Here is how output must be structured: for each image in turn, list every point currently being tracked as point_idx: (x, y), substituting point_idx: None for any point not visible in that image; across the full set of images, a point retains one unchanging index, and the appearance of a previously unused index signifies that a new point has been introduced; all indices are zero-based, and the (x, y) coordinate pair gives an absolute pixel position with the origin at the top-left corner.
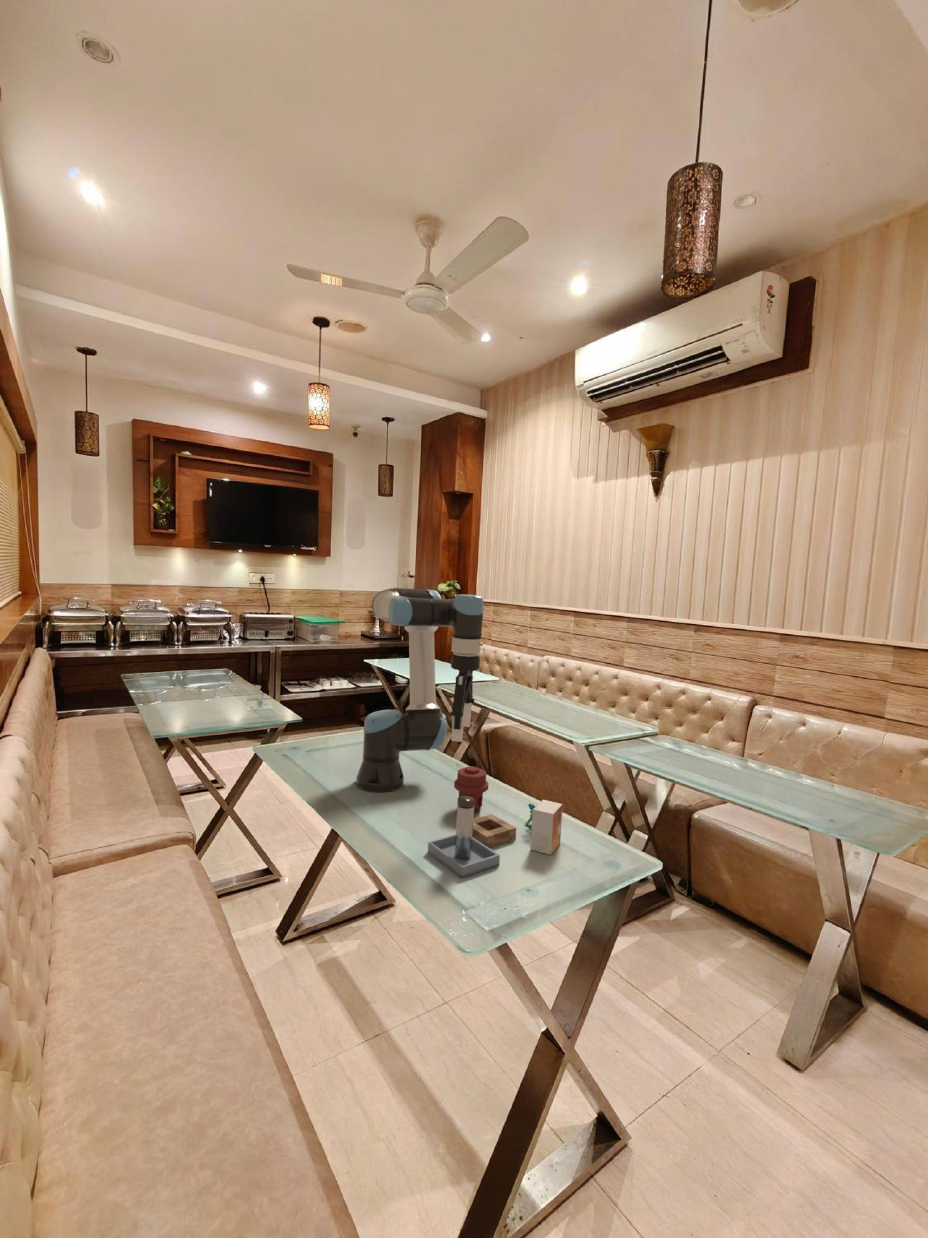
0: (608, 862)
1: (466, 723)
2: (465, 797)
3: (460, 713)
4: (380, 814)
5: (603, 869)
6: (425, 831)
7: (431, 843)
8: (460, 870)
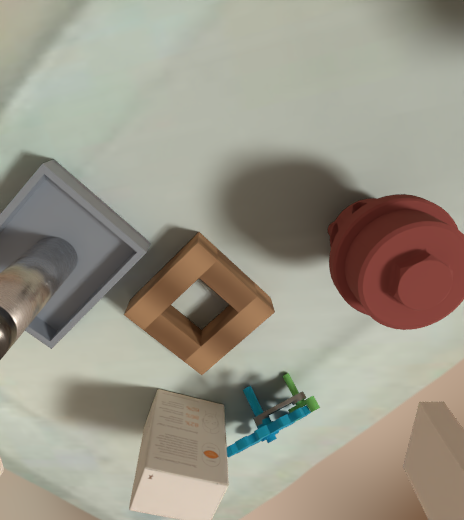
0: None
1: (420, 471)
2: None
3: None
4: None
5: (123, 500)
6: (179, 123)
7: (38, 174)
8: None
